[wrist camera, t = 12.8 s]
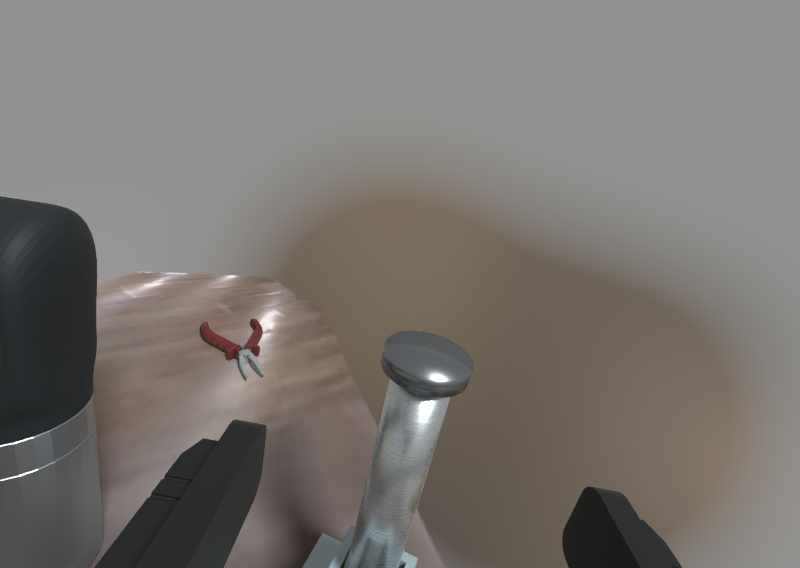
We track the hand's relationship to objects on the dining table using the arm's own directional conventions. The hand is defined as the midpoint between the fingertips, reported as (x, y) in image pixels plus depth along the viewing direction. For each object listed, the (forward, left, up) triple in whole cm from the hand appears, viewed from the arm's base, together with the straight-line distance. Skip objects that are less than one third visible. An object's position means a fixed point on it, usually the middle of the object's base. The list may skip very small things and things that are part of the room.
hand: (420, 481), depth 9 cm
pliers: (-43, +45, -35) cm, 71 cm away
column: (-2, +13, -25) cm, 28 cm away
